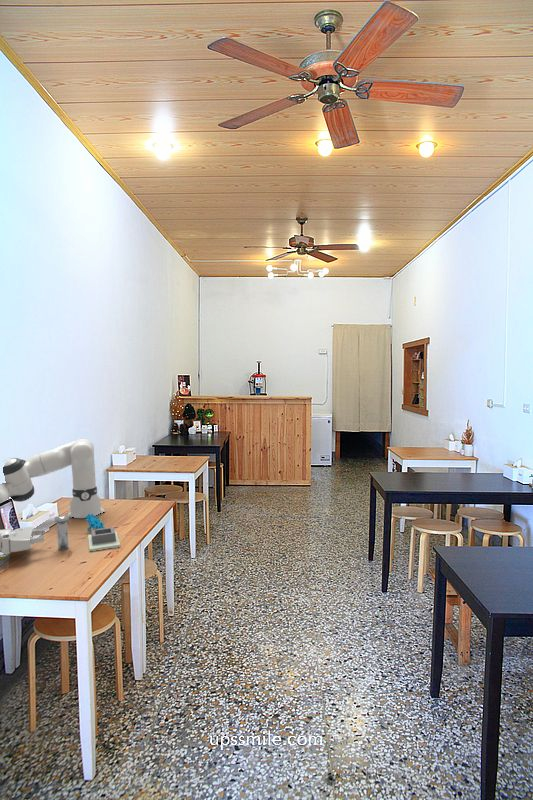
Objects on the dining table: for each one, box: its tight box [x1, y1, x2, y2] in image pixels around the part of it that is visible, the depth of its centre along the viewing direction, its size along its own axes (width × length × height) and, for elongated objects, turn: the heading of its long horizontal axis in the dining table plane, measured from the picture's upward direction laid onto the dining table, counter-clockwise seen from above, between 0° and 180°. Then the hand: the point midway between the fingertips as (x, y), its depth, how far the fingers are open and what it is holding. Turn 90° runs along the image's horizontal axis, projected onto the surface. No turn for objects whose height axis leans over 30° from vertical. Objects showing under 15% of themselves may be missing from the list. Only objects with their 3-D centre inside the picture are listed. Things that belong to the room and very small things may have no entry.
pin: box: [54, 514, 70, 551], centre depth 209 cm, size 6×6×13 cm
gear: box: [85, 514, 105, 531], centre depth 233 cm, size 11×6×10 cm
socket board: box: [87, 526, 121, 552], centre depth 215 cm, size 20×12×5 cm, turn 21°
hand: (44, 535), depth 206 cm, fingers open, 8 cm apart
